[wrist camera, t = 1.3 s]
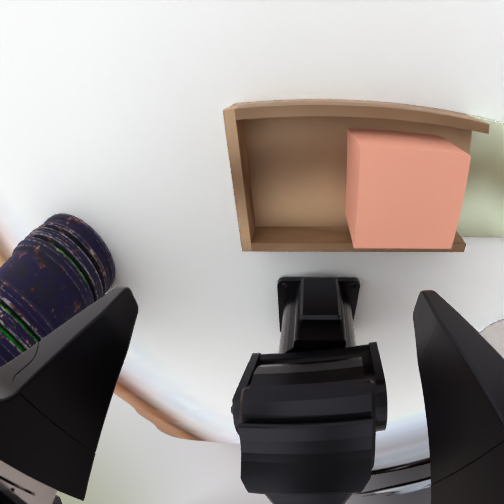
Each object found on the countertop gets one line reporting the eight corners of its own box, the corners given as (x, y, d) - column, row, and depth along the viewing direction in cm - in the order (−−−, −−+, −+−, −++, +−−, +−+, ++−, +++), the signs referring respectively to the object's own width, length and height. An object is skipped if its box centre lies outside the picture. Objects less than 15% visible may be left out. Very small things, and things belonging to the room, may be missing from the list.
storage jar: (129, 296, 28) (60, 424, 16) (65, 288, 29) (-2, 387, 17) (95, 208, 22) (-24, 339, 10) (30, 215, 24) (-64, 311, 12)
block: (428, 215, 17) (451, 248, 14) (345, 213, 18) (353, 248, 15) (439, 135, 14) (470, 155, 11) (347, 128, 15) (360, 145, 12)
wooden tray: (517, 231, 17) (534, 252, 14) (249, 227, 21) (242, 251, 19) (539, 134, 12) (562, 147, 10) (234, 103, 16) (222, 110, 14)
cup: (516, 307, 21) (545, 372, 14) (513, 349, 25) (533, 403, 18) (464, 337, 25) (486, 406, 17) (471, 372, 28) (485, 429, 21)
